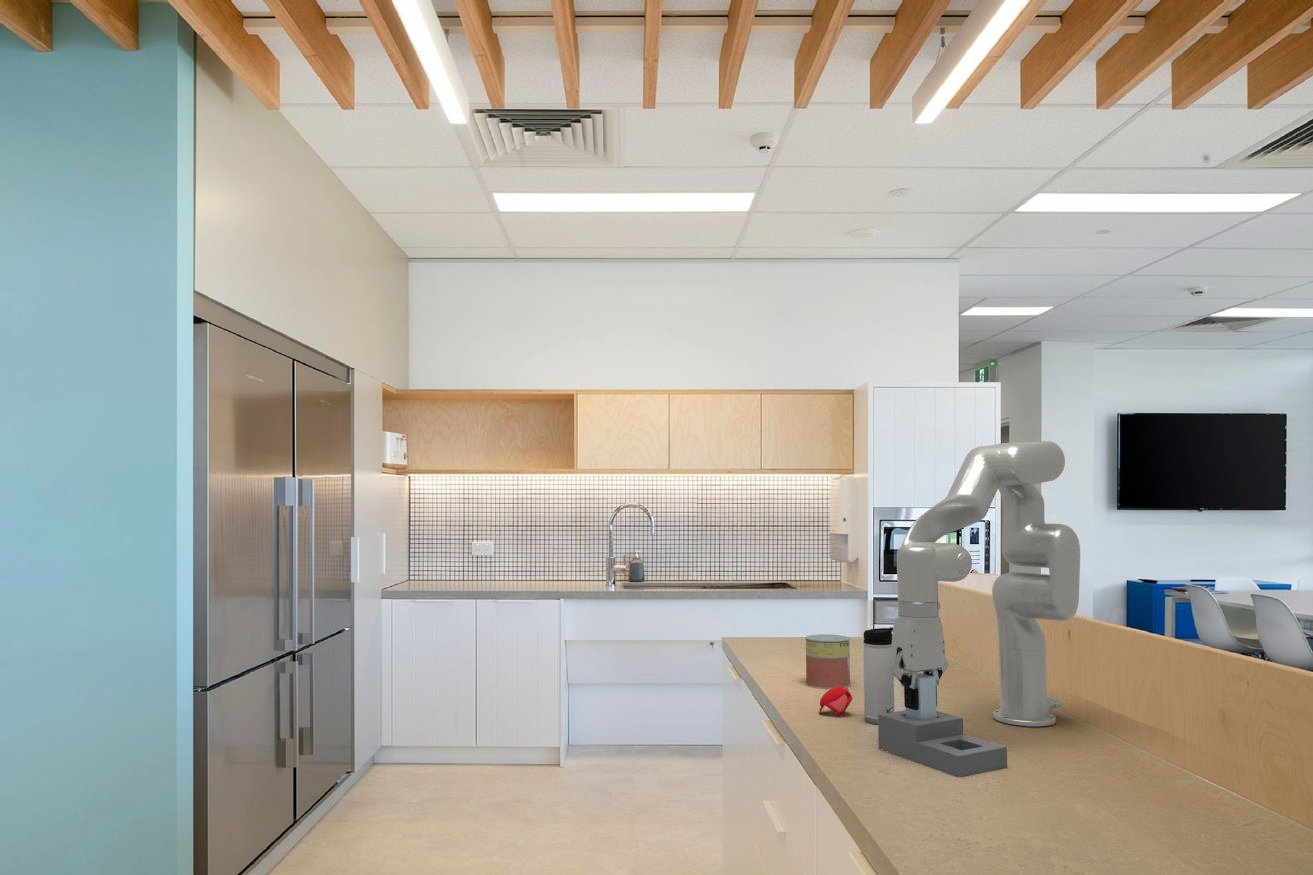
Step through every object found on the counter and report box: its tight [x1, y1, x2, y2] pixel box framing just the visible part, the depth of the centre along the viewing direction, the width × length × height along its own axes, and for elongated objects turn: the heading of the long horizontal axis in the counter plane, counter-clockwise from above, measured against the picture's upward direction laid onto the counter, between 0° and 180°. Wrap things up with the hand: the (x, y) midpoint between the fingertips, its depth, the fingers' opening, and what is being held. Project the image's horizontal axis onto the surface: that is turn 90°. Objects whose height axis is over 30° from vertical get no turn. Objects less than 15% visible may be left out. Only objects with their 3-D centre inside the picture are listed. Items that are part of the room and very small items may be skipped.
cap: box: [818, 687, 853, 717], centre depth 201 cm, size 8×6×6 cm
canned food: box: [805, 634, 851, 690], centre depth 233 cm, size 11×11×12 cm
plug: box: [905, 672, 938, 721], centre depth 172 cm, size 4×5×10 cm
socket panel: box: [877, 709, 1008, 778], centre depth 167 cm, size 12×20×6 cm, turn 28°
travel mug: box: [862, 626, 895, 726], centre depth 195 cm, size 6×7×20 cm
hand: (920, 705), depth 172 cm, fingers closed on plug, 4 cm apart
